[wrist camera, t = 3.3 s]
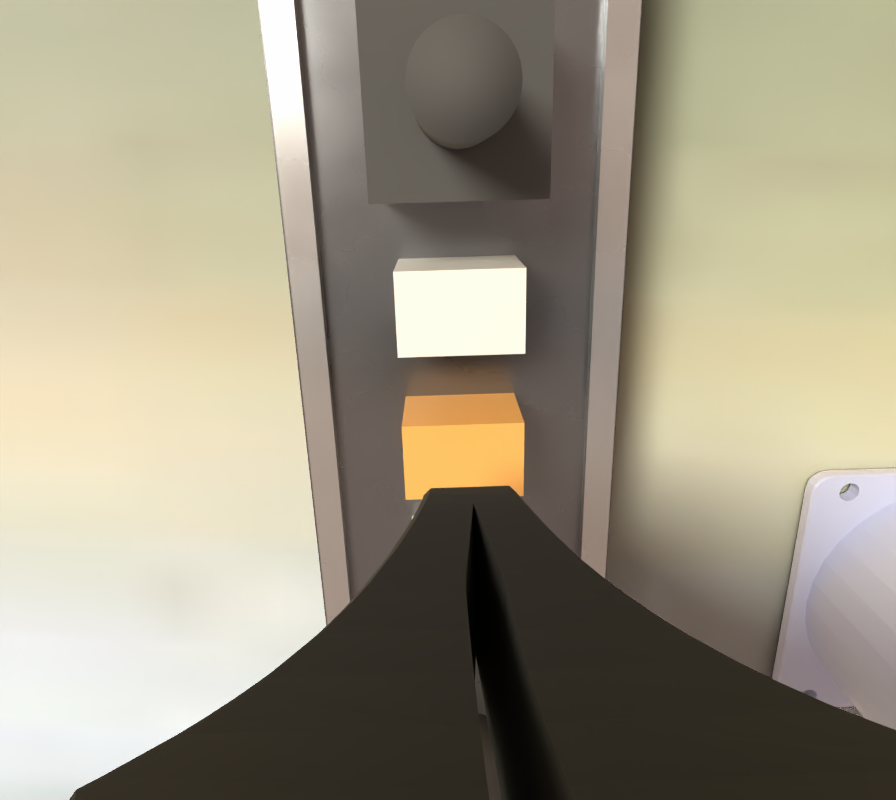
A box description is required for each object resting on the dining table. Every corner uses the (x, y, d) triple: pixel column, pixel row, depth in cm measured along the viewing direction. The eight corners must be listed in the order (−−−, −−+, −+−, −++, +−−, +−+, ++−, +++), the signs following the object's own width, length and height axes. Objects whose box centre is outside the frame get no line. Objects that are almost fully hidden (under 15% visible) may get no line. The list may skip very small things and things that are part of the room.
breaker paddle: (514, 255, 13) (526, 267, 12) (514, 330, 14) (525, 353, 12) (398, 258, 13) (392, 271, 12) (402, 334, 14) (397, 357, 12)
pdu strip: (618, -181, 13) (664, -269, 10) (573, 738, 21) (593, 820, 18) (267, -172, 13) (224, -259, 10) (357, 746, 21) (346, 829, 18)
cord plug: (532, 23, 12) (595, -72, 7) (530, 193, 13) (584, 207, 8) (370, 27, 12) (326, -65, 7) (379, 198, 13) (347, 214, 8)
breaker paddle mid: (513, 392, 14) (524, 423, 13) (513, 458, 15) (523, 495, 13) (405, 396, 14) (401, 427, 13) (409, 461, 15) (405, 499, 13)
